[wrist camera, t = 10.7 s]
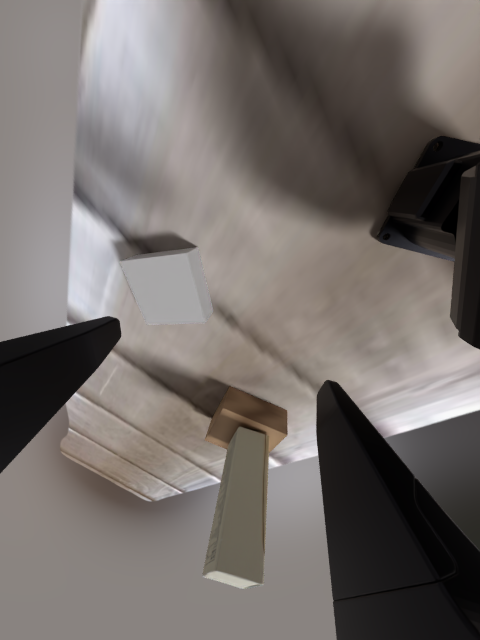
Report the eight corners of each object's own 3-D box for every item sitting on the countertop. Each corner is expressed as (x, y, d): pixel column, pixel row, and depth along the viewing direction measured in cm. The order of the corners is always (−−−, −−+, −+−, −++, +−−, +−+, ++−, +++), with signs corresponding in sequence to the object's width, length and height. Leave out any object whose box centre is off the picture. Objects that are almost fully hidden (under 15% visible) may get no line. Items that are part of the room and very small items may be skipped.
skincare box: (255, 453, 30) (244, 589, 20) (226, 444, 30) (200, 577, 20) (270, 434, 26) (266, 588, 16) (237, 424, 26) (213, 573, 16)
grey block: (199, 246, 20) (186, 253, 17) (214, 309, 23) (205, 323, 21) (138, 254, 21) (118, 261, 19) (160, 312, 25) (146, 324, 22)
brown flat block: (287, 408, 29) (287, 434, 26) (261, 436, 34) (259, 462, 31) (230, 383, 29) (223, 408, 26) (212, 416, 34) (204, 440, 30)
